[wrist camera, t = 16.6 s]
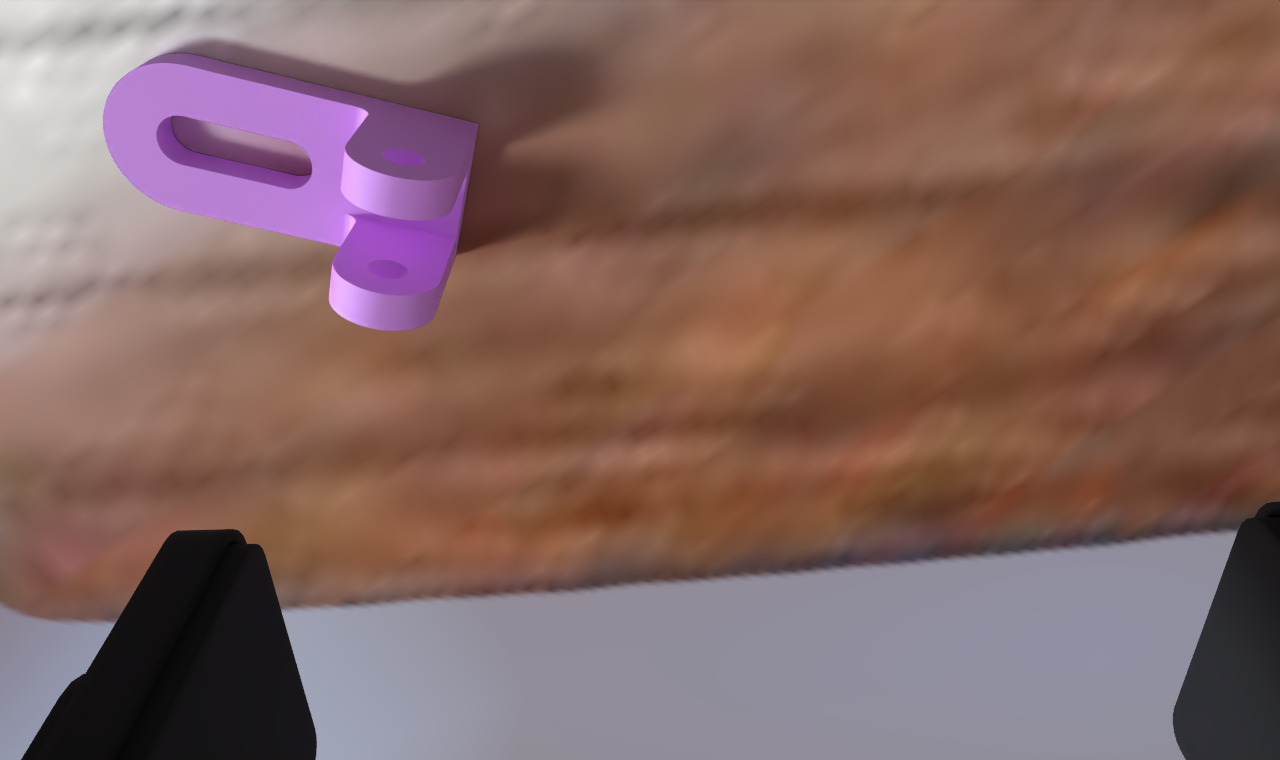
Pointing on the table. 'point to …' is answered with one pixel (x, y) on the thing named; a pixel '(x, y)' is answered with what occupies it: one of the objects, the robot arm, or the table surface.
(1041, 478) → the table surface
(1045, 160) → the table surface
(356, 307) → the bracket
